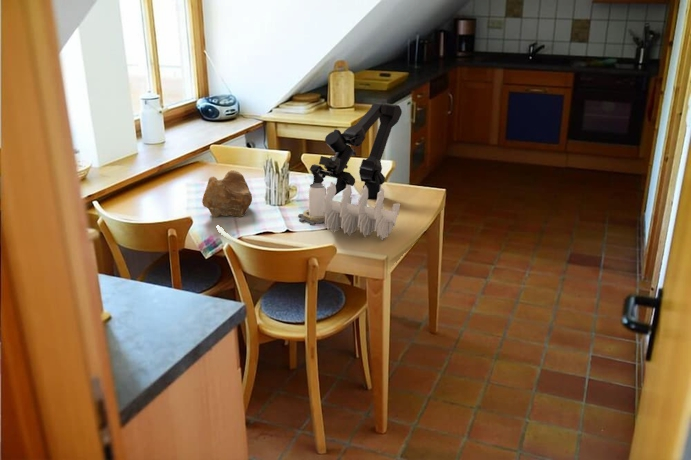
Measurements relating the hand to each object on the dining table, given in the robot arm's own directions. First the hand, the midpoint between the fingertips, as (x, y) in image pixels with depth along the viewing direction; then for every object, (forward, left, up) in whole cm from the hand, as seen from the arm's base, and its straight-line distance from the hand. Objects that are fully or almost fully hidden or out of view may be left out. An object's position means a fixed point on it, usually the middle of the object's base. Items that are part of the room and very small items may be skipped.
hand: (321, 194), depth 241 cm
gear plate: (+1, +2, -9) cm, 9 cm away
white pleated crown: (-18, +14, -9) cm, 25 cm away
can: (+1, +2, -8) cm, 9 cm away
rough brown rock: (+34, +4, -9) cm, 36 cm away
